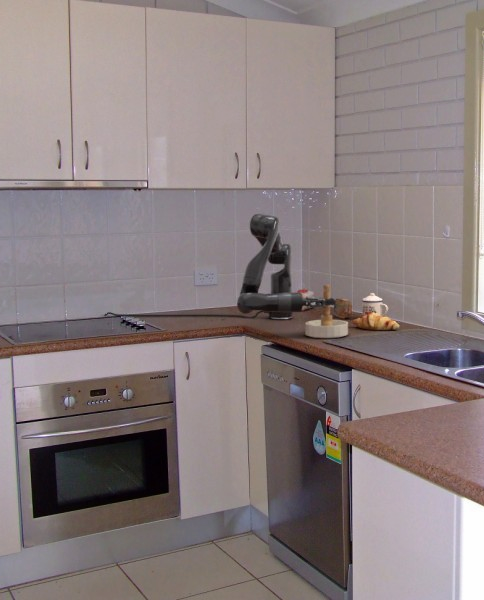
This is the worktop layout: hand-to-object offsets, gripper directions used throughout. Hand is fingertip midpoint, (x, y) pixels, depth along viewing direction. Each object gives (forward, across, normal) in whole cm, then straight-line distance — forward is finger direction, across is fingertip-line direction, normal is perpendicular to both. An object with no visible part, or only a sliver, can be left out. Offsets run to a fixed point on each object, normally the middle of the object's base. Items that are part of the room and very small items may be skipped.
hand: (333, 301), depth 326 cm
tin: (+10, +46, +13) cm, 49 cm away
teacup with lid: (+23, +37, +13) cm, 46 cm away
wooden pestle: (-3, 0, +10) cm, 10 cm away
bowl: (-3, 0, +13) cm, 14 cm away
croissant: (+19, +12, +13) cm, 26 cm away
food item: (-5, +76, +13) cm, 78 cm away
